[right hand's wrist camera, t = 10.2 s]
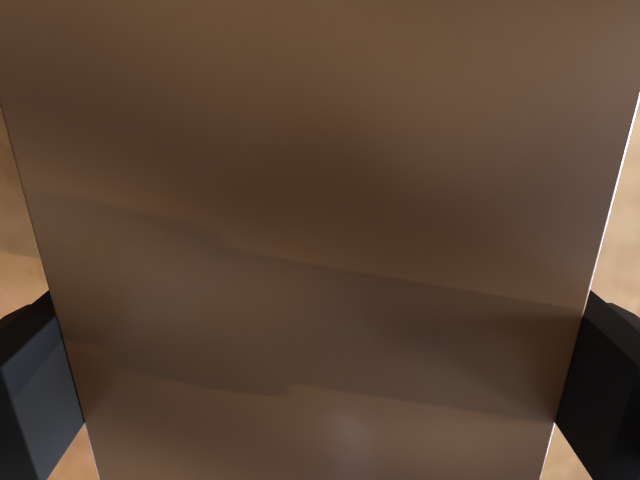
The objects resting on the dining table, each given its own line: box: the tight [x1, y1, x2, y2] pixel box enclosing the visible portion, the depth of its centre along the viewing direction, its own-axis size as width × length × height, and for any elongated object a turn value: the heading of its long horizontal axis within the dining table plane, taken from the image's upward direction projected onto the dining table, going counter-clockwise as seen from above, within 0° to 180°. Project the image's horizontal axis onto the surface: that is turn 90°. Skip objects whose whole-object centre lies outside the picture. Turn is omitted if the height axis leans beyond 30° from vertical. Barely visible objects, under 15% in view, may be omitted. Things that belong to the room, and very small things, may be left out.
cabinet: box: [0, 0, 640, 480], centre depth 13 cm, size 18×10×12 cm, turn 0°
